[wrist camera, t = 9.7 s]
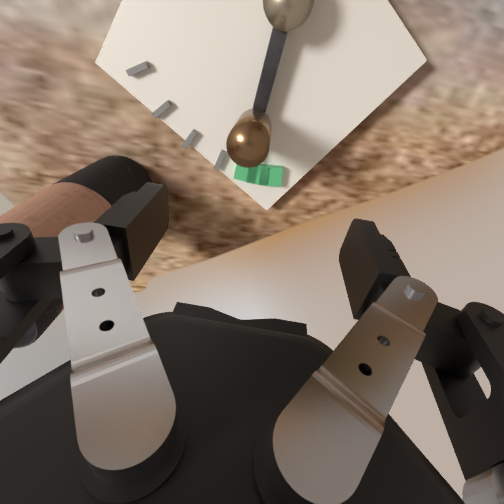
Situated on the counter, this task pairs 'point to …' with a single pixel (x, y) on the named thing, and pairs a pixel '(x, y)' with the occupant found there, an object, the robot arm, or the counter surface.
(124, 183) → the travel mug
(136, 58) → the square base plate
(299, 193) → the counter surface
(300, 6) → the dial lever
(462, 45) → the counter surface
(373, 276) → the robot arm
